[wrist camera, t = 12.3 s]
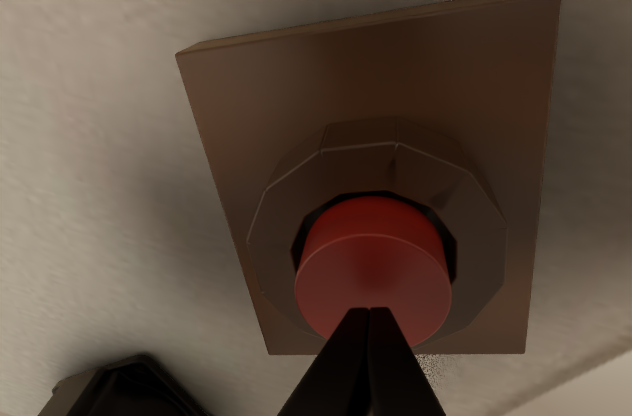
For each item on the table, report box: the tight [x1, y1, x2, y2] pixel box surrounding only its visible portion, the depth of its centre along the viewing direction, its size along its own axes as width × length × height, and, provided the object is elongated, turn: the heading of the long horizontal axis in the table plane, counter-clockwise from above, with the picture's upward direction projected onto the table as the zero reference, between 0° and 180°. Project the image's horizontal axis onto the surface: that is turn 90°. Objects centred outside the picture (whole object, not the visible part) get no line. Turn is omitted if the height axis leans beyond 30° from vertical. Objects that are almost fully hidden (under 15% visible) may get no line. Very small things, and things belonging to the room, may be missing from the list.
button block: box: [175, 0, 561, 355], centre depth 12 cm, size 11×9×4 cm
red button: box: [294, 196, 452, 347], centre depth 11 cm, size 4×4×2 cm
